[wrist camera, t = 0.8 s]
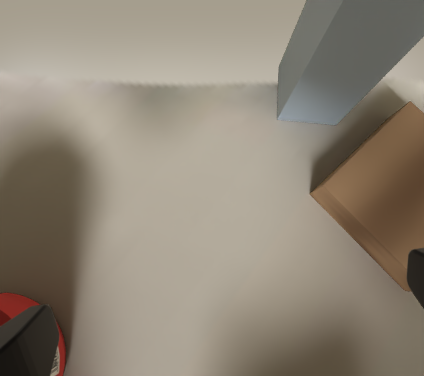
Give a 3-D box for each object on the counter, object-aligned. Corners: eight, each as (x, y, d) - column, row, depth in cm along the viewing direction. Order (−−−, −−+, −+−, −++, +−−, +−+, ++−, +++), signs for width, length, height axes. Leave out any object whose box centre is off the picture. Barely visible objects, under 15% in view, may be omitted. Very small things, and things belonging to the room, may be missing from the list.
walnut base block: (476, 204, 25) (514, 195, 22) (401, 290, 23) (431, 293, 20) (385, 120, 26) (410, 101, 23) (307, 195, 24) (323, 185, 21)
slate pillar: (335, 125, 25) (458, 0, 13) (277, 119, 25) (349, -12, 13) (335, 72, 26) (448, -85, 15) (278, 66, 26) (347, -97, 14)
